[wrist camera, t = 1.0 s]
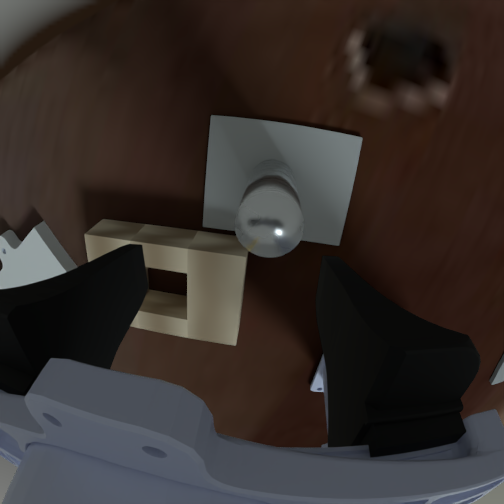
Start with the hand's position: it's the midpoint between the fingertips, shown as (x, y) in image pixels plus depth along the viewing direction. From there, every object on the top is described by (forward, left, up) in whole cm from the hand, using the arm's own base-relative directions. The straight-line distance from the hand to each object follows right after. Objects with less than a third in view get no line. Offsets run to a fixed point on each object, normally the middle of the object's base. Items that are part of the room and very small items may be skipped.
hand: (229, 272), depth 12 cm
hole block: (+6, +7, -10) cm, 14 cm away
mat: (-2, -1, -10) cm, 11 cm away
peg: (-1, -1, -10) cm, 10 cm away
